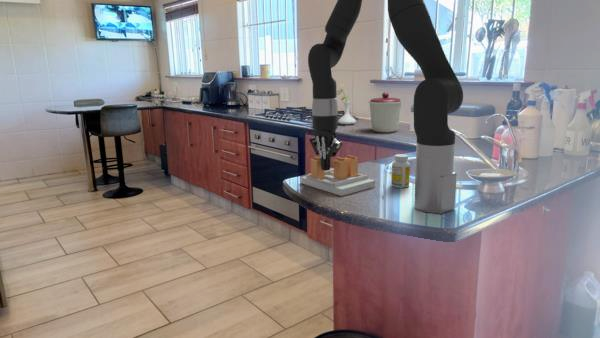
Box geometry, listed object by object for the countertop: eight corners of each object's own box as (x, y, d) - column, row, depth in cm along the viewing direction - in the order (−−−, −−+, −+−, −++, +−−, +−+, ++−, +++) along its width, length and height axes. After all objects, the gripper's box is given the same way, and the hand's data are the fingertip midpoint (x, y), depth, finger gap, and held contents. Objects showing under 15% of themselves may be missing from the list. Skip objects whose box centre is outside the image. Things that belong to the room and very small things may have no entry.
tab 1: (324, 177, 136) (324, 157, 135) (317, 179, 134) (316, 159, 133) (318, 176, 138) (318, 156, 137) (311, 177, 137) (310, 157, 135)
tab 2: (347, 178, 134) (347, 158, 133) (340, 180, 133) (340, 159, 131) (340, 176, 137) (340, 156, 135) (333, 178, 135) (333, 158, 133)
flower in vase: (346, 122, 276) (346, 82, 270) (360, 124, 267) (360, 82, 261) (332, 124, 268) (331, 83, 262) (345, 126, 259) (345, 84, 253)
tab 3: (357, 176, 137) (357, 155, 135) (350, 177, 135) (350, 157, 134) (351, 174, 139) (351, 154, 138) (344, 176, 138) (344, 155, 136)
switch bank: (374, 186, 133) (375, 176, 132) (341, 196, 125) (341, 184, 124) (333, 175, 148) (333, 165, 147) (301, 183, 140) (301, 172, 139)
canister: (407, 130, 237) (409, 91, 232) (390, 135, 224) (390, 94, 219) (379, 128, 249) (380, 91, 244) (361, 132, 236) (361, 93, 231)
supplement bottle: (394, 188, 131) (395, 157, 128) (389, 183, 136) (389, 154, 134) (411, 187, 131) (412, 156, 129) (405, 183, 136) (406, 153, 134)
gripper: (349, 114, 125) (349, 171, 130) (320, 110, 136) (321, 164, 140) (330, 116, 121) (330, 176, 125) (301, 113, 131) (302, 168, 135)
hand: (325, 169), depth 133 cm, fingers closed
